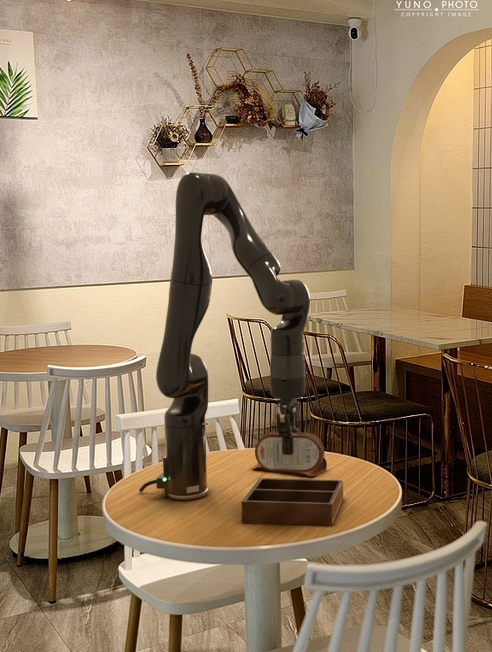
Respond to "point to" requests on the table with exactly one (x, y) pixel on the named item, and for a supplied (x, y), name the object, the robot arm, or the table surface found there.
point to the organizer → (293, 501)
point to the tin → (302, 460)
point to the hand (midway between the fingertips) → (289, 451)
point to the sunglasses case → (314, 472)
